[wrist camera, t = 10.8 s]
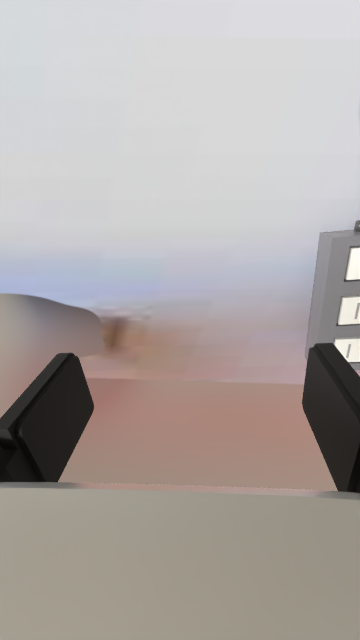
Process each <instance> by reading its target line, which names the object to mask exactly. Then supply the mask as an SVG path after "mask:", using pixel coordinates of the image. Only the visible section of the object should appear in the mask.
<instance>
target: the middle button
mask: <svg viewBox="0 0 360 640" xmlns="http://www.w3.org/2000/svg"><path fill="white" fill-rule="evenodd" d="M337 323H338V324H339V325H344V324H360V295H349V296H341V301H340V307H339V313H338V318H337Z"/></svg>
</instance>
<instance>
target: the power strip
mask: <svg viewBox="0 0 360 640" xmlns="http://www.w3.org/2000/svg"><path fill="white" fill-rule="evenodd" d="M350 246H360V220H358V221H356V224H355V230H345V231H334V232H323V233H320V237H319V245H318V253H317V261H316V270H315V278H314V286H313V294H312V302H311V310H310V318H309V327H308V335H307V343H306V351H305V357H306V359H307V361H308V353H309V348H310V347H314V345H315V344H316V343H333V341H334V338H347V337H360V324H344V325H339V324H338V323H337V318H338V313H339V307H340V301H341V296H349V295H360V279H355V280H346V279H345V272H346V267H347V261H348V255H349V250H350ZM348 363H349V364H350V365H351V366H352V368H353V369H354V370H360V362H348Z"/></svg>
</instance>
